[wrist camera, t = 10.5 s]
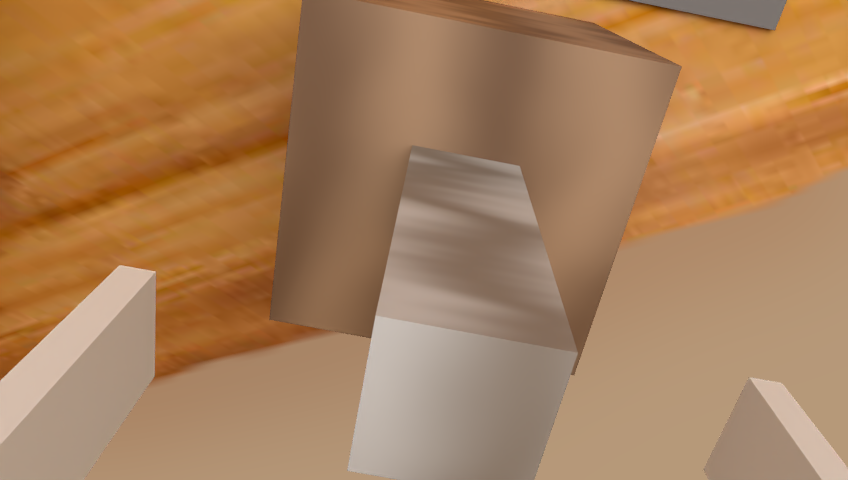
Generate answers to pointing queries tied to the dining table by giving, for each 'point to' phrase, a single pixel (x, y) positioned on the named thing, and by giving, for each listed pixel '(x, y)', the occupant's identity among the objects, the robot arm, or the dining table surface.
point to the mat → (730, 10)
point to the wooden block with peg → (459, 215)
